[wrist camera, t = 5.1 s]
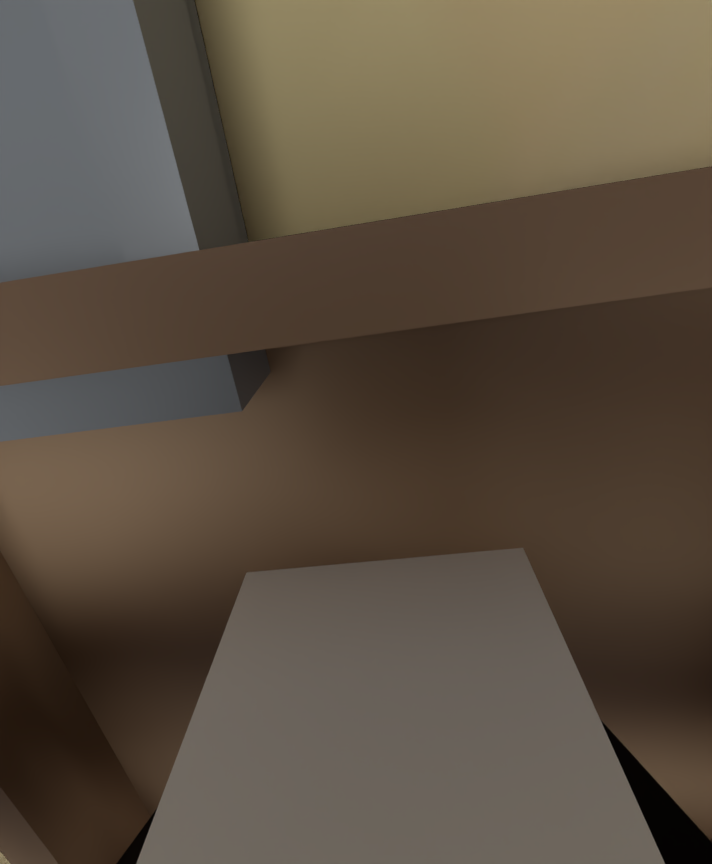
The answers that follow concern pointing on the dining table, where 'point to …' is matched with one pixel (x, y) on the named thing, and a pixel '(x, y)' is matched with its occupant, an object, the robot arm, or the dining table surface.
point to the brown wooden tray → (362, 473)
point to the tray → (113, 189)
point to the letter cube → (397, 727)
